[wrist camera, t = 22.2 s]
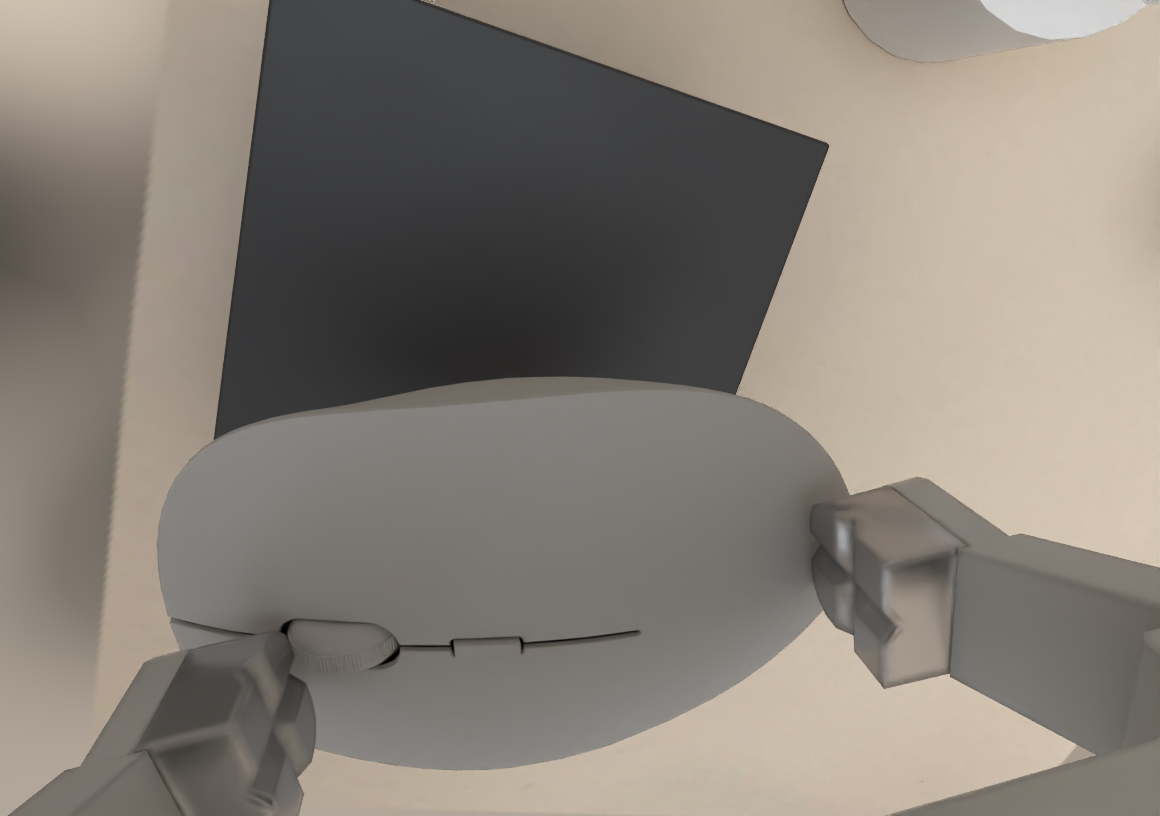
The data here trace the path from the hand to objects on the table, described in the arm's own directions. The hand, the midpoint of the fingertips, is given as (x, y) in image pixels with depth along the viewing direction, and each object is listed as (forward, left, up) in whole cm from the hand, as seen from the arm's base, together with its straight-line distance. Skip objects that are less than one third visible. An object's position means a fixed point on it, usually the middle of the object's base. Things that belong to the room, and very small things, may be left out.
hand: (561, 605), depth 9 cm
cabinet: (0, 0, -19) cm, 19 cm away
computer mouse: (0, 0, -3) cm, 3 cm away
